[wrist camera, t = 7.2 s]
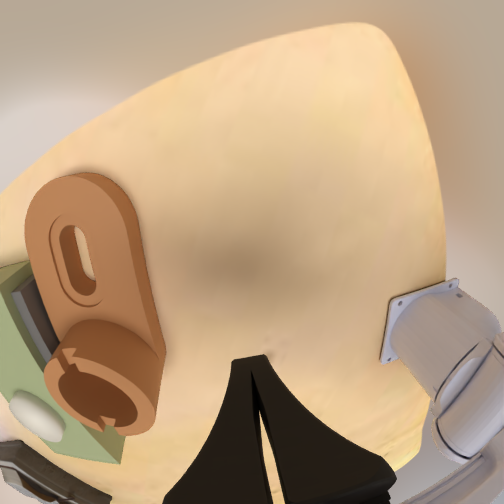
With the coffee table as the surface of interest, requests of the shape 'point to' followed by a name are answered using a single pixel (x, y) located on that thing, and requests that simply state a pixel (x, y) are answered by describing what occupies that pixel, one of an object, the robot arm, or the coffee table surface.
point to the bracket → (96, 304)
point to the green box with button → (41, 373)
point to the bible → (44, 477)
